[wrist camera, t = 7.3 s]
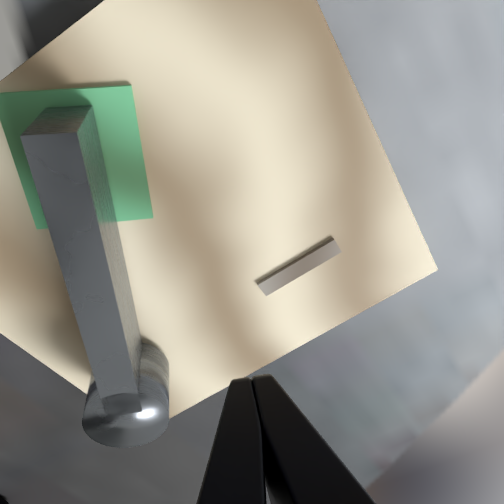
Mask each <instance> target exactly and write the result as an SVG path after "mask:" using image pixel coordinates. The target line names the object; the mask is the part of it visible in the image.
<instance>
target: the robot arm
mask: <svg viewBox="0 0 504 504" xmlns="http://www.w3.org/2000/svg"><path fill="white" fill-rule="evenodd" d="M265 482H266V484H265ZM266 487H267V491H268V495H269V498H270V502H271V504H376V503H375V501H374V500H373V499H372V498H371V497H370V495H369V494H368V493H367V492H366V490H365V489H364V488H363V487H362V485H361V484H360V483H359V482H358V481H357V479H356V478H355V477H354V476H353V474H352V473H351V472H350V471H349V469H348V468H347V467H346V466H345V465H344V463H343V462H342V461H341V460H340V458H339V457H338V456H337V455H336V453H335V452H334V451H333V450H332V448H331V447H330V446H329V445H328V444H327V442H326V441H325V440H324V439H323V437H322V436H321V435H320V434H319V432H318V431H317V430H316V429H315V428H314V426H313V425H312V424H311V423H310V421H309V420H308V419H307V418H306V416H305V415H304V414H303V413H302V412H301V410H300V409H299V408H298V407H297V405H296V404H295V403H294V402H293V400H292V399H291V398H290V397H289V396H288V394H287V393H286V392H285V391H284V389H283V388H282V387H281V386H280V384H279V383H278V382H277V381H276V379H275V378H274V377H273V376H272V375H270V374H263V375H257V376H253V377H252V379H250V378H249V377H244V378H238V379H233V380H231V382H230V385H229V388H228V392H227V395H226V399H225V403H224V406H223V410H222V413H221V417H220V421H219V424H218V428H217V431H216V435H215V439H214V442H213V446H212V450H211V453H210V457H209V460H208V464H207V468H206V471H205V475H204V478H203V482H202V486H201V489H200V493H199V496H198V500H197V504H266ZM0 504H9V503H8V502H7V501H5V500H3V499H1V498H0Z"/></svg>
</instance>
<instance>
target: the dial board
mask: <svg viewBox="0 0 504 504" xmlns="http://www.w3.org/2000/svg"><path fill="white" fill-rule="evenodd" d="M82 105H93V109H94V114H95V119H96V124H97V128H98V133H99V138H100V143H101V148H102V152H103V157H104V162H105V167H106V172H107V176H108V181H109V186H110V191H111V196H112V200H113V205H114V210H115V215H116V220H117V224H118V229H119V234H120V239H121V244H122V248H123V253H124V258H125V263H126V268H127V272H128V277H129V282H130V287H131V291H132V296H133V301H134V306H135V311H136V315H137V320H138V325H139V330H140V335H141V339H142V343H146V344H149V345H152V346H154V347H156V348H158V349H159V350H160V351H162V352H163V353H164V355H165V356H166V357H167V360H168V362H169V418H171V417H173V416H175V415H177V414H178V413H180V412H182V411H184V410H186V409H187V408H189V407H191V406H193V405H195V404H196V403H198V402H200V401H202V400H204V399H205V398H207V397H209V396H211V395H213V394H215V393H216V392H218V391H220V390H222V389H224V388H225V387H227V386H229V385H230V382H231V380H233V379H238V378H243V377H245V376H247V375H249V374H251V373H252V372H254V371H256V370H258V369H260V368H261V367H263V366H265V365H267V364H269V363H271V362H272V361H274V360H276V359H278V358H280V357H281V356H283V355H285V354H287V353H289V352H290V351H292V350H294V349H296V348H298V347H299V346H301V345H303V344H305V343H307V342H308V341H310V340H312V339H314V338H316V337H317V336H319V335H321V334H323V333H325V332H327V331H328V330H330V329H332V328H334V327H336V326H337V325H339V324H341V323H343V322H345V321H346V320H348V319H350V318H352V317H354V316H355V315H357V314H359V313H361V312H363V311H364V310H366V309H368V308H370V307H372V306H373V305H375V304H377V303H379V302H381V301H383V300H384V299H386V298H388V297H390V296H392V295H393V294H395V293H397V292H399V291H401V290H402V289H404V288H406V287H408V286H410V285H411V284H413V283H415V282H417V281H419V280H420V279H422V278H424V277H426V276H428V275H430V274H431V273H433V272H435V271H437V270H438V269H437V266H436V264H435V262H434V260H433V258H432V255H431V253H430V251H429V249H428V246H427V244H426V242H425V240H424V238H423V235H422V233H421V231H420V229H419V226H418V224H417V222H416V220H415V218H414V215H413V213H412V211H411V209H410V206H409V204H408V202H407V200H406V198H405V195H404V193H403V191H402V189H401V186H400V184H399V182H398V180H397V178H396V175H395V173H394V171H393V169H392V166H391V164H390V162H389V160H388V158H387V155H386V153H385V151H384V149H383V147H382V144H381V142H380V140H379V138H378V135H377V133H376V131H375V129H374V127H373V124H372V122H371V120H370V118H369V115H368V113H367V111H366V109H365V107H364V104H363V102H362V100H361V98H360V95H359V93H358V91H357V89H356V87H355V84H354V82H353V80H352V78H351V75H350V73H349V71H348V69H347V67H346V64H345V62H344V60H343V58H342V55H341V53H340V51H339V49H338V47H337V44H336V42H335V40H334V38H333V35H332V33H331V31H330V29H329V27H328V24H327V22H326V20H325V18H324V15H323V13H322V11H321V9H320V7H319V4H318V2H317V0H104V1H103V2H102V3H100V4H99V5H98V6H96V7H95V8H94V9H93V10H91V11H90V12H89V13H87V14H86V15H85V16H84V17H82V18H81V19H80V20H78V21H77V22H76V23H75V24H73V25H72V26H71V27H69V28H68V29H67V30H65V31H64V32H63V33H62V34H60V35H59V36H58V37H56V38H55V39H54V40H53V41H51V42H50V43H49V44H47V45H46V46H45V47H44V48H42V49H41V50H40V51H38V52H37V53H36V54H35V55H33V56H32V57H31V58H29V59H28V60H27V61H26V62H24V63H23V64H22V65H20V66H19V67H18V68H17V69H15V70H14V71H13V72H11V73H10V74H9V75H8V76H6V77H5V78H4V79H3V80H1V81H0V333H1V334H2V335H4V336H5V337H7V338H8V339H10V340H11V341H12V342H14V343H15V344H17V345H18V346H19V347H21V348H22V349H24V350H25V351H27V352H28V353H29V354H31V355H32V356H34V357H35V358H36V359H38V360H39V361H41V362H42V363H44V364H45V365H46V366H48V367H49V368H51V369H52V370H53V371H55V372H56V373H58V374H59V375H61V376H62V377H63V378H65V379H66V380H68V381H69V382H70V383H72V384H73V385H75V386H76V387H78V388H79V389H80V390H82V391H83V392H85V393H86V394H87V393H88V387H89V382H90V377H91V372H92V369H91V366H90V362H89V359H88V356H87V353H86V349H85V346H84V343H83V340H82V336H81V333H80V330H79V327H78V323H77V320H76V317H75V313H74V310H73V307H72V304H71V300H70V297H69V294H68V291H67V287H66V284H65V281H64V278H63V274H62V271H61V268H60V265H59V261H58V258H57V255H56V252H55V248H54V245H53V242H52V239H51V235H50V232H49V229H48V226H47V222H46V219H45V216H44V213H43V209H42V206H41V203H40V200H39V196H38V193H37V190H36V187H35V183H34V180H33V177H32V173H31V170H30V167H29V164H28V160H27V157H26V154H25V151H24V147H23V144H22V141H21V138H20V135H21V134H22V133H23V132H24V131H25V130H26V129H27V128H28V126H29V125H30V124H31V123H32V122H33V121H34V120H35V119H36V118H37V117H38V115H39V114H40V113H41V112H42V111H43V110H44V109H45V108H46V107H64V106H82Z"/></svg>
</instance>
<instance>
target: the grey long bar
mask: <svg viewBox="0 0 504 504" xmlns="http://www.w3.org/2000/svg"><path fill="white" fill-rule="evenodd" d="M20 138H21V141H22V144H23V147H24V151H25V154H26V157H27V160H28V164H29V167H30V170H31V173H32V177H33V180H34V183H35V187H36V190H37V193H38V196H39V200H40V203H41V206H42V209H43V213H44V216H45V219H46V222H47V226H48V229H49V232H50V235H51V239H52V242H53V245H54V248H55V252H56V255H57V258H58V261H59V265H60V268H61V271H62V274H63V278H64V281H65V284H66V287H67V291H68V294H69V297H70V300H71V304H72V307H73V310H74V313H75V317H76V320H77V323H78V327H79V330H80V333H81V336H82V340H83V343H84V346H85V349H86V353H87V356H88V359H89V362H90V366H91V369H92V372H91V377H90V382H89V387H88V393H87V398H86V403H85V408H84V413H83V418H82V426H83V429H84V431H85V432H86V434H87V435H88V436H89V437H90V438H91V439H93V440H94V441H96V442H98V443H100V444H103V445H106V446H111V447H118V448H128V447H136V446H140V445H144V444H147V443H149V442H151V441H153V440H155V439H156V438H158V437H159V436H160V435H161V434H162V433H163V432H164V431H165V430H166V428H167V426H168V424H169V362H168V360H167V357H166V356H165V355H164V353H163V352H162V351H160V350H159V349H158V348H156V347H154V346H152V345H149V344H146V343H142V339H141V335H140V330H139V325H138V320H137V315H136V311H135V306H134V301H133V296H132V291H131V287H130V282H129V277H128V272H127V268H126V263H125V258H124V253H123V248H122V244H121V239H120V234H119V229H118V224H117V220H116V215H115V210H114V205H113V200H112V196H111V191H110V186H109V181H108V176H107V172H106V167H105V162H104V157H103V152H102V148H101V143H100V138H99V133H98V128H97V124H96V119H95V114H94V109H93V105H82V106H64V107H46V108H45V109H44V110H43V111H42V112H41V113H40V114H39V115H38V117H37V118H36V119H35V120H34V121H33V122H32V123H31V124H30V125H29V126H28V128H27V129H26V130H25V131H24V132H23V133H22V134H21V135H20Z"/></svg>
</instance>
